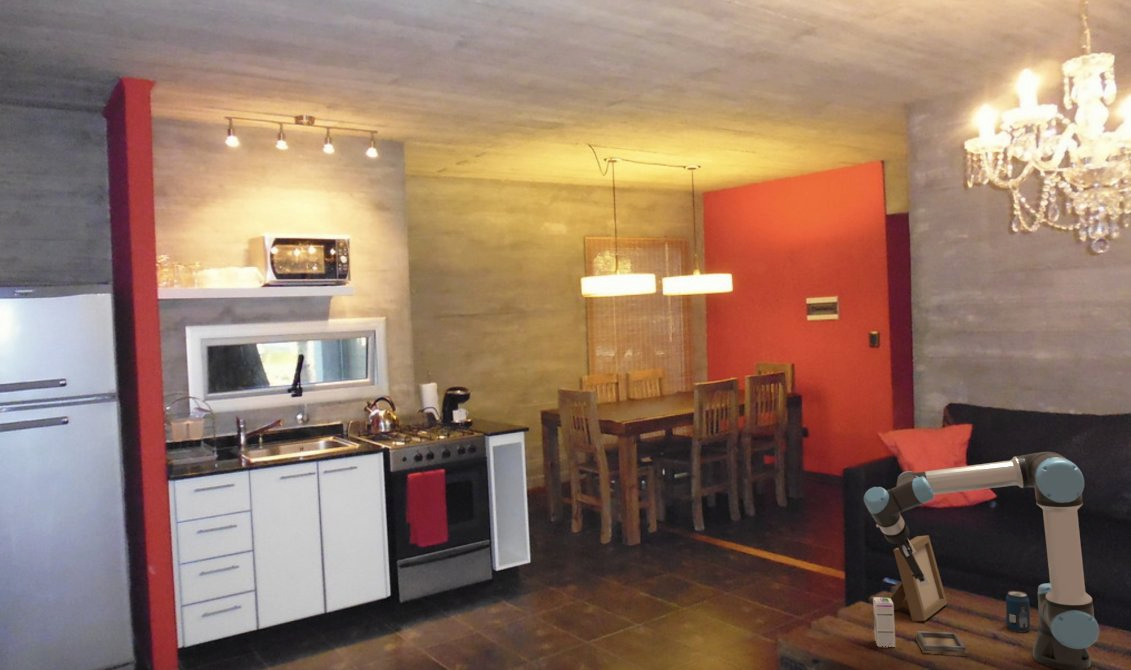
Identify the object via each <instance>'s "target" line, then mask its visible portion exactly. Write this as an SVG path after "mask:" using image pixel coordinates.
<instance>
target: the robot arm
mask: <svg viewBox="0 0 1131 670" xmlns="http://www.w3.org/2000/svg"><path fill="white" fill-rule="evenodd" d="M1010 486H1018V487H1019V488H1021V489H1024V488H1034V493H1035V503H1036V505H1037V506H1039V508H1041V509H1042V514H1043V525H1044V533H1045V543H1046V544H1045V545H1046V553H1047V555H1046V556H1047V564H1048V574H1049V582H1048V583H1041V584H1040V585H1038V587H1037V594H1036V595H1037V600H1038V601H1037V603H1038V605H1037V606H1038V607H1037V608H1038V609H1037V610H1038V634H1037V637H1036V639H1035V642H1034V644H1033V647H1032V657H1033V659H1034V660H1035V661H1036V662H1037V663H1039V664H1041V665H1043V664H1044V666H1047V667H1049V668H1053V669H1056V670H1057V669H1058V670H1088V669H1089V668H1090V667H1091V665H1092V664H1091V663H1092V662H1091V655H1090V653H1089V651H1088V648H1089V647H1091V646H1092V645H1093V644H1095V643H1096V642H1097V641H1098V639H1099V636H1100V626H1099V624H1098V621H1097V619H1096V618H1095V614H1094V613H1095V612H1094V605H1093V604H1094V603H1093V598H1092V596H1091V595H1090V594H1088V593H1087V592H1086V585H1085V574H1084V573H1085V572H1084V565H1083V555H1082V546H1081V537H1080V536H1081V535H1080V527H1079V524H1080V523H1079V515H1078V514H1079V513H1078V510H1079V509H1080V508H1081V507H1082V506H1083V505H1084V502H1083V492H1084V489H1085V478H1084V476H1083V473H1082V471H1081V469H1080V468H1079V467H1078V465H1076V464H1075V463H1074V462H1072V461H1071V460H1069V459H1067V457H1065V456H1063V455H1062V454H1061V453H1057V452H1054V451H1053V452H1052V451H1042V452H1034V453H1029V454H1022V455H1017V456H1013V457H1012V459H1010V460H1003V461H997V462H988V463H982V464H981V463H980V464H973V465H965V466H959V467H949V468H942V469H940V468H939V469H933V470H926V471H919V472H914V471H910V470H909V471H903V472H902V473H900V474H899V475H898V476H897V481H896V486H895V487H893V488H889V489H887V490H886V489H885V488H883V487H882V486H878V487H877V486H873V487H871V488H869V489H868V490H867V491H865V494H864V496H863V503H864V505H865V507H866V508H867V511H868V512H869V513H870V515H871V517H872V518H873V520H874V521H875V523H876V525H875V526H876V528H879V529H880V531H881V533H882V534H883V536H884V538H885V539H886V541H888V543H891V544H894V545H895V546H896V548H899V550H900V552H901V554H902V555H903V556H904V558H905V560H906V562H907V563H908V565H909V567H910V569H911V571H912V573H913V575H912V577H915V579H917V580H918V582H919V584H920V585H921V587H923V586H926V585H928V584H930V583H929V581H928V580H927V578H926V576H925V575H924V573H923V571H922V570H921V569H920V567H919V565H918V563H917V562H916V560H915V558H914V556H913V553H915V552H916V551H915V549H914V548H913V546H912V544H911V543H910V540H909V537H910V536H909V535H910V529H909V527H908V525H907V523H906V522H905V520H904V518H903V516H902V515H901V513H904V512H906V511H908V510H911V509H914V508H916V507H918V506H921V505H924V504H926V503H927V504H928V502H930V501H932V500H934V499H935V498H936V496H935V495H942V494H951V493H959V492H960V493H961V492H968V491H969V492H970V491H977V490H985V489H992V488H993V489H995V488H1003V487H1010ZM901 549H902V550H903V551H902V550H901Z"/></svg>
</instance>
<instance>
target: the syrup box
mask: <svg viewBox="0 0 1131 670" xmlns="http://www.w3.org/2000/svg"><path fill="white" fill-rule="evenodd" d="M872 604H873V605H872V607H873V608H872V609H873V633H874V642H875V641H876V642H875V645H876V646H878V648H888V646H889V647H891V646H892V647H895V648H896V628H895V627H896V626H895V612H894V611H895V610H894V605H893V602H892V600H891V598H890V597H885V596H883V597H882V596H881V597H880V596H878V597H877V596H876V597H872ZM882 646H883V647H882ZM885 646H886V647H885Z"/></svg>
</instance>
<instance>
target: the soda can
mask: <svg viewBox="0 0 1131 670" xmlns="http://www.w3.org/2000/svg"><path fill="white" fill-rule="evenodd" d="M1005 614H1006V616H1005V617H1006V618H1005V621H1006V626H1007V627H1008V630H1010V631H1012V630H1013V632H1016V631H1017V632H1016V633H1026V631H1027V632H1028V631H1029V629H1030V627H1031V621H1030V620H1031V618H1030V617H1031V615H1030V599H1029V597H1028V594H1027V593H1026V592H1023V591H1021V590H1009V591H1008V592H1007V595H1006V597H1005Z"/></svg>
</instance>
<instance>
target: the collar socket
mask: <svg viewBox="0 0 1131 670" xmlns="http://www.w3.org/2000/svg"><path fill="white" fill-rule="evenodd" d="M915 637H916V638H915ZM914 638H915V641H916V642H917V644H918V647H919V649H920V648H921V649H920V650H922V651H921V653H922V652H923V653H931V654H930V655H934V654H939V655H938V656H953V655H954V656H955V657H957V656H959V657H968V656H969V652H968V651H967V650H966V646H965V645H964V643H963V641H962V640H961V638H960V636H959V634H957V632H947V631H946V632H944V631H943V632H940V631H923V630H922V631H920V630H916V634H915V635H914ZM923 653H922V654H923ZM941 654H943V655H941Z"/></svg>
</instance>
